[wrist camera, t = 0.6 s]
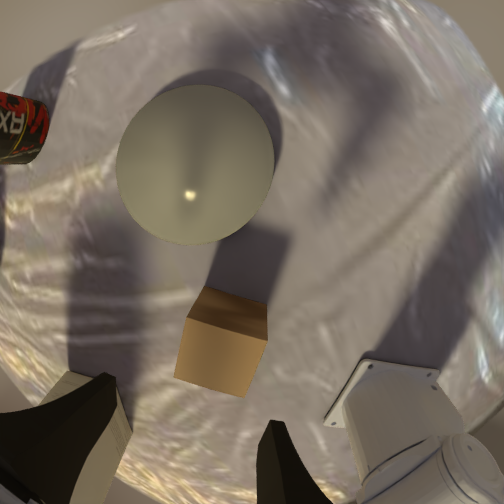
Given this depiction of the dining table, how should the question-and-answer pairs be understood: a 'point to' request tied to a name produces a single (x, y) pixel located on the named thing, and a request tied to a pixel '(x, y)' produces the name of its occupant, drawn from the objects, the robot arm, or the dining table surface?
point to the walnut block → (222, 342)
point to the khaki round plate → (195, 164)
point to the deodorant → (21, 128)
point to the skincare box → (96, 446)
